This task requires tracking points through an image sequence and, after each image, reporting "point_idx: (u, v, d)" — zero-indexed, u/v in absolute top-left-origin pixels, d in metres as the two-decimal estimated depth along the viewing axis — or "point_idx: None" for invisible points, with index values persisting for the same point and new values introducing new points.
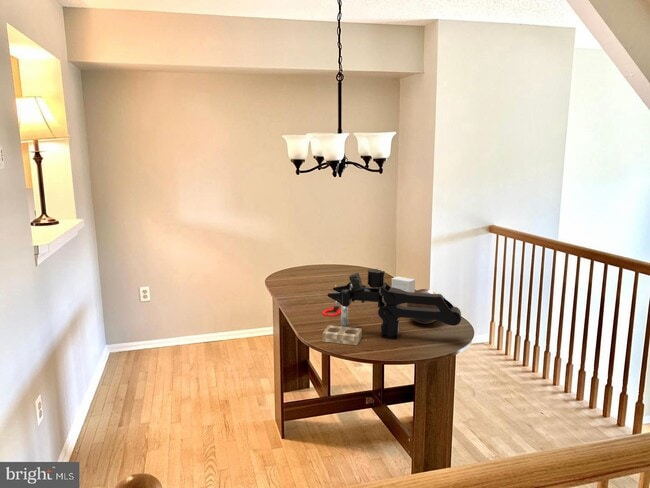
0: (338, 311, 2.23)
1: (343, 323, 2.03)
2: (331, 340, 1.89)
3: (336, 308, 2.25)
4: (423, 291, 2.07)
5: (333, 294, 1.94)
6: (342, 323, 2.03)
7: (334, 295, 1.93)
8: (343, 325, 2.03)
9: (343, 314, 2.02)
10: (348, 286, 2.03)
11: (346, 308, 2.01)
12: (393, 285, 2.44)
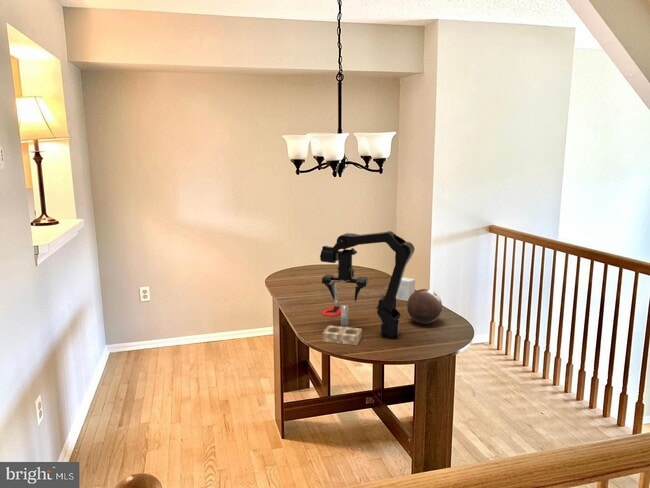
0: (338, 311, 2.23)
1: (343, 323, 2.03)
2: (331, 340, 1.89)
3: (336, 308, 2.25)
4: (423, 291, 2.07)
5: None
6: (342, 323, 2.03)
7: None
8: (343, 325, 2.03)
9: (343, 314, 2.02)
10: None
11: (346, 308, 2.01)
12: None
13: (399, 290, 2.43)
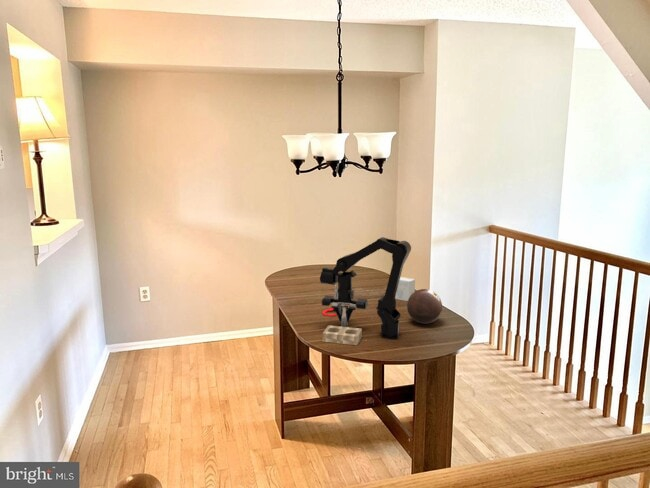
0: None
1: (343, 323, 2.03)
2: (331, 340, 1.89)
3: None
4: (423, 291, 2.07)
5: None
6: (342, 323, 2.03)
7: None
8: (343, 325, 2.03)
9: (343, 314, 2.02)
10: None
11: (346, 308, 2.01)
12: None
13: (399, 290, 2.43)
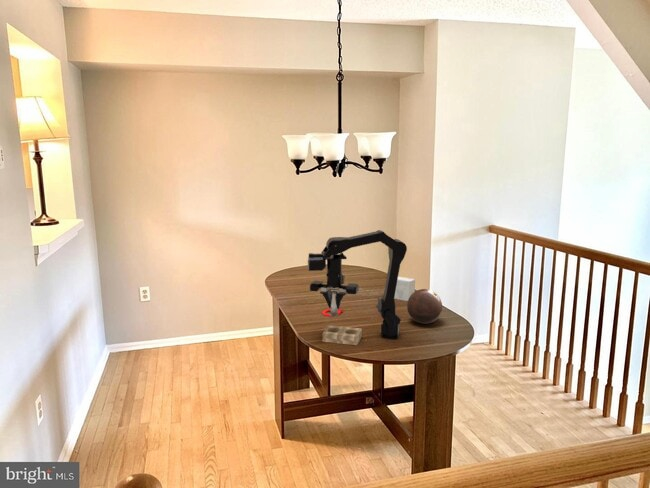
0: (338, 311, 2.23)
1: (333, 310, 1.90)
2: (331, 340, 1.89)
3: None
4: (423, 291, 2.07)
5: None
6: (331, 310, 1.90)
7: None
8: (333, 312, 1.90)
9: (332, 300, 1.89)
10: None
11: (336, 294, 1.89)
12: None
13: (399, 290, 2.43)
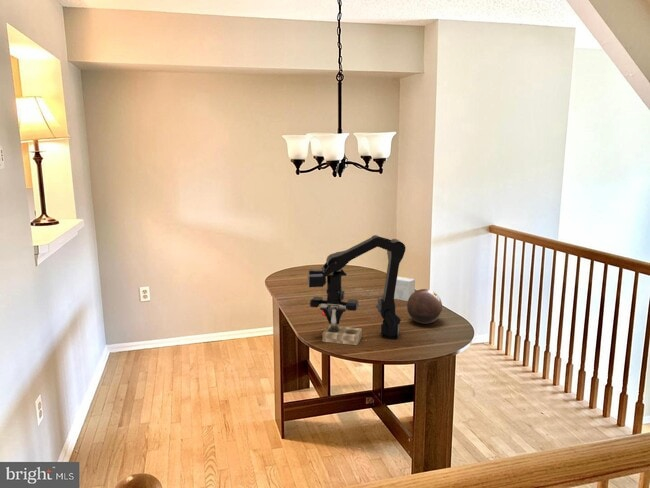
0: None
1: (333, 326, 1.91)
2: (331, 340, 1.89)
3: None
4: (423, 291, 2.07)
5: None
6: (332, 326, 1.91)
7: None
8: (333, 328, 1.91)
9: (332, 316, 1.90)
10: None
11: (336, 310, 1.90)
12: None
13: (399, 290, 2.43)
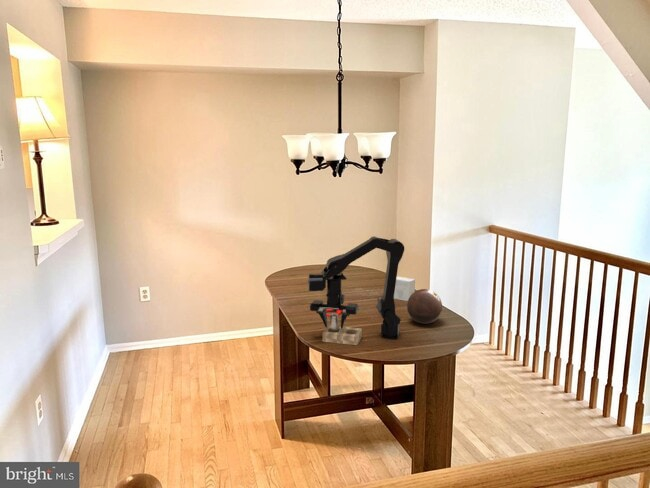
0: (338, 311, 2.23)
1: None
2: (331, 340, 1.89)
3: None
4: (423, 291, 2.07)
5: None
6: None
7: None
8: None
9: (332, 323, 1.91)
10: None
11: (336, 317, 1.90)
12: None
13: (399, 290, 2.43)
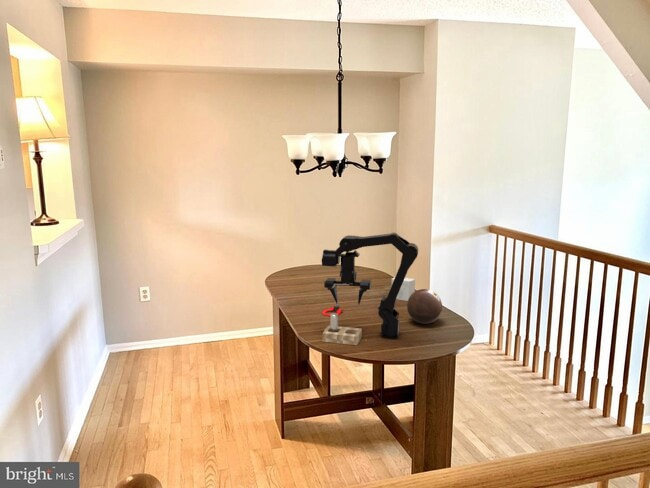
0: (338, 311, 2.23)
1: None
2: (331, 340, 1.89)
3: (336, 308, 2.25)
4: (423, 291, 2.07)
5: None
6: None
7: None
8: None
9: (332, 323, 1.91)
10: None
11: (336, 317, 1.91)
12: None
13: None
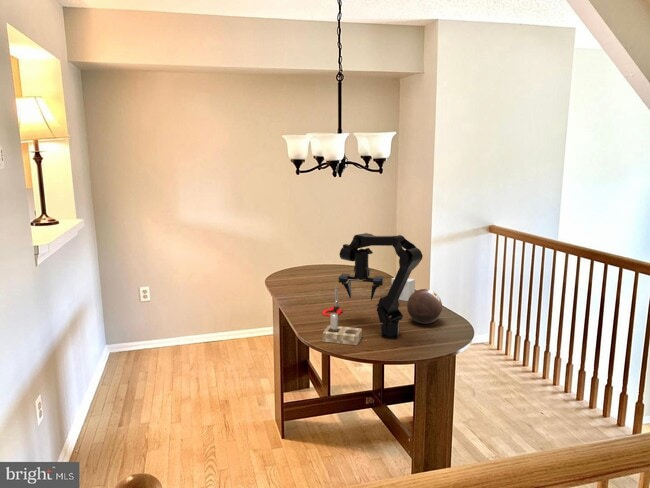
0: (338, 311, 2.23)
1: None
2: (331, 340, 1.89)
3: (336, 308, 2.25)
4: (423, 291, 2.07)
5: None
6: None
7: None
8: None
9: (332, 323, 1.91)
10: None
11: (336, 317, 1.91)
12: None
13: None
